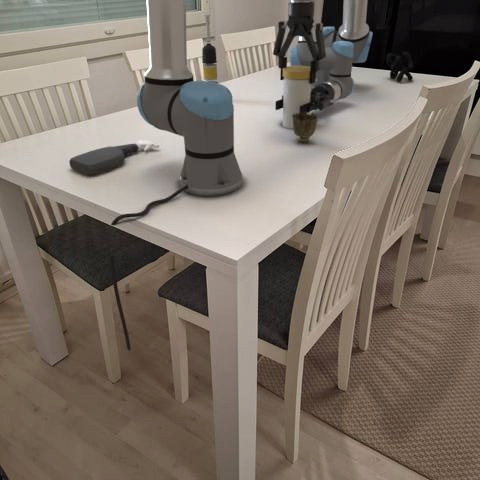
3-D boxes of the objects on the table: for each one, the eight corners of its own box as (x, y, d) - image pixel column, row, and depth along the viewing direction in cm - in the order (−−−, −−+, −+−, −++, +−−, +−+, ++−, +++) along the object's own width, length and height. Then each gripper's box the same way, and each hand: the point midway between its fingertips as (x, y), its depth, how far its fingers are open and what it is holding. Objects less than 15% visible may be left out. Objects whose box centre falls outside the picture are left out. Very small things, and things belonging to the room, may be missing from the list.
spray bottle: (67, 168, 120) (139, 144, 136) (91, 178, 114) (163, 151, 130) (65, 157, 118) (137, 134, 134) (89, 167, 112) (162, 142, 128)
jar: (287, 130, 144) (289, 74, 135) (278, 122, 151) (280, 69, 142) (312, 127, 146) (316, 72, 137) (302, 120, 153) (305, 67, 144)
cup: (287, 143, 133) (288, 116, 129) (296, 135, 139) (297, 110, 135) (310, 147, 130) (312, 119, 126) (319, 139, 136) (321, 113, 132)
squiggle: (400, 92, 202) (376, 71, 205) (417, 76, 202) (392, 56, 205) (405, 81, 191) (380, 59, 194) (423, 64, 191) (397, 42, 194)
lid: (313, 79, 136) (314, 72, 135) (282, 79, 137) (282, 71, 136) (312, 72, 144) (313, 65, 143) (282, 72, 145) (283, 65, 144)
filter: (220, 99, 177) (217, 15, 161) (206, 100, 176) (202, 16, 160) (215, 96, 182) (212, 14, 166) (202, 97, 180) (197, 14, 164)
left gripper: (262, 1, 132) (261, 79, 144) (332, 3, 121) (325, 87, 133) (274, -1, 137) (272, 75, 149) (342, 1, 127) (335, 82, 139)
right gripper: (351, 109, 153) (316, 126, 138) (299, 99, 165) (261, 114, 150) (354, 87, 149) (318, 101, 134) (300, 78, 161) (261, 91, 146)
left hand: (297, 81), depth 141 cm, fingers closed on lid, 10 cm apart
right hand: (288, 108), depth 142 cm, fingers closed on jar, 9 cm apart
